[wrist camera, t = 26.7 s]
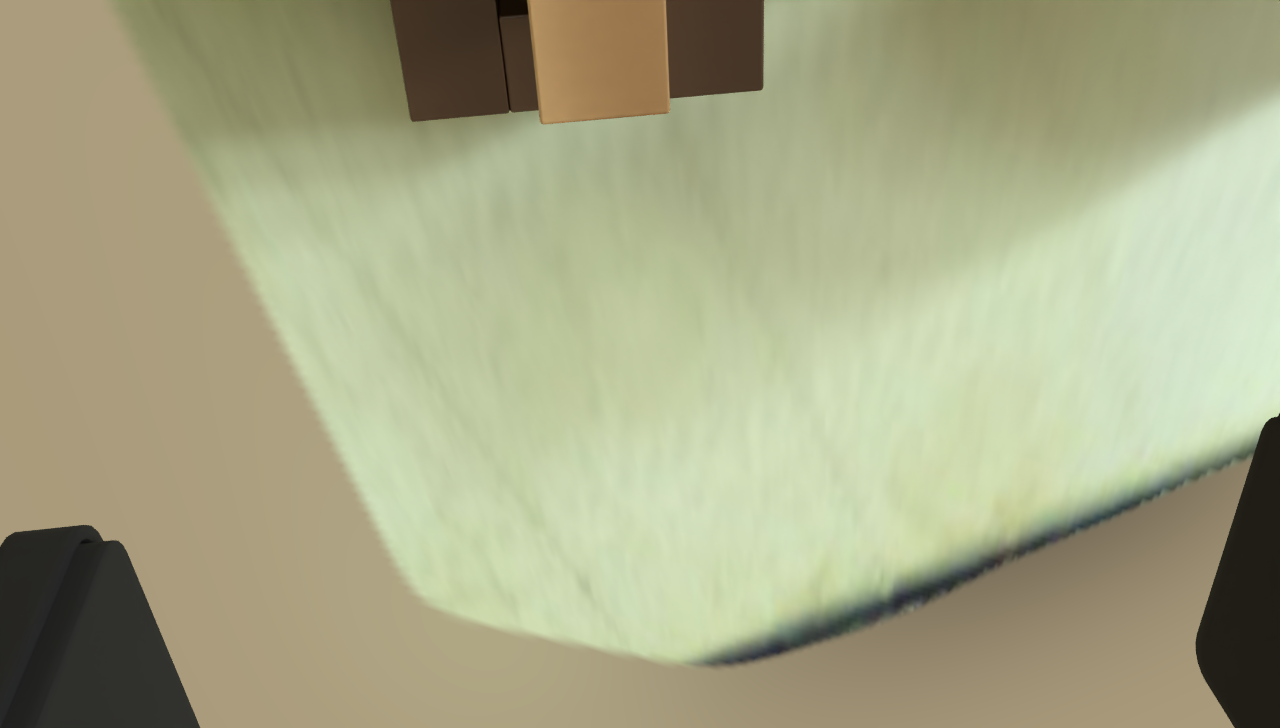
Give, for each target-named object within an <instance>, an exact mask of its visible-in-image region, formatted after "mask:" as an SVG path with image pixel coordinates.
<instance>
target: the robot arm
mask: <svg viewBox="0 0 1280 728" xmlns="http://www.w3.org/2000/svg"><path fill="white" fill-rule="evenodd" d="M1196 655H1197V660H1198V664H1199V667H1200V670H1201V673H1202V674H1203V677H1204V679H1205V680H1206V682H1207V684H1208V686H1209V687H1210V689H1211V690H1212V692H1213V693H1214V695H1215V697H1216V698H1217V700H1218V702H1219V703H1220V705H1221V706H1222V708H1223V709H1224V711H1225V713H1226V714H1227V716H1228V717H1229V719H1230V721H1231V722H1232V724H1233V726H1234V727H1235V728H1280V414H1279V416H1278V417H1274V418H1271V419H1269V420H1268V421H1267V422H1266V423H1265V425H1264V427H1263V429H1262V431H1261V434H1260V437H1259V441H1258V444H1257V447H1256V450H1255V453H1254V456H1253V459H1252V463H1251V466H1250V469H1249V472H1248V475H1247V478H1246V481H1245V485H1244V488H1243V491H1242V494H1241V497H1240V500H1239V503H1238V507H1237V510H1236V513H1235V516H1234V519H1233V523H1232V526H1231V529H1230V532H1229V535H1228V538H1227V541H1226V544H1225V548H1224V551H1223V554H1222V557H1221V560H1220V563H1219V566H1218V570H1217V573H1216V576H1215V579H1214V582H1213V585H1212V588H1211V592H1210V595H1209V598H1208V601H1207V604H1206V607H1205V611H1204V614H1203V617H1202V620H1201V623H1200V626H1199V629H1198V633H1197V637H1196ZM0 728H200V726H199V724H198V721H197V719H196V717H195V714H194V712H193V709H192V707H191V705H190V702H189V700H188V697H187V695H186V693H185V690H184V688H183V686H182V683H181V681H180V678H179V676H178V673H177V671H176V669H175V666H174V664H173V661H172V659H171V657H170V654H169V652H168V650H167V647H166V645H165V642H164V640H163V637H162V635H161V633H160V631H159V628H158V626H157V624H156V621H155V618H154V616H153V613H152V611H151V609H150V607H149V604H148V602H147V599H146V597H145V594H144V592H143V590H142V587H141V585H140V583H139V580H138V577H137V575H136V573H135V570H134V568H133V566H132V563H131V561H130V558H129V556H128V553H127V551H126V550H125V548H124V546H123V545H122V544H121V543H120V542H119V541H103V540H102V538H101V536H100V534H99V533H98V531H97V530H96V529H94V528H93V527H92V526H89V525H80V526H70V527H62V528H51V529H42V530H32V531H23V532H15V533H13V534H11V535H9V536H8V537H6V539H5V540H4V542H3V543H2V545H1V547H0Z"/></svg>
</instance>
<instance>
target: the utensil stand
mask: <svg viewBox="0 0 1280 728" xmlns="http://www.w3.org/2000/svg"><path fill="white" fill-rule="evenodd" d="M390 5H391V11H392V16H393V22H394V28H395V33H396V39H397V45H398V50H399V56H400V62H401V67H402V73H403V79H404V84H405V90H406V96H407V102H408V107H409V113H410V119H411V120H412V121H413V122H415V121H426V120H437V119H449V118H460V117H471V116H482V115H493V114H504V113H509V111H511V112H523V111H535V110H539V107H538V97H537V88H536V79H535V69H534V60H533V51H532V41H531V32H530V22H529V13H528V4H527V0H390ZM666 18H667V43H668V69H669V94H670V98H680V97H692V96H703V95H714V94H725V93H736V92H747V91H759V90H762V89H763V68H764V0H666Z"/></svg>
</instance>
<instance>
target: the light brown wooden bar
mask: <svg viewBox="0 0 1280 728" xmlns="http://www.w3.org/2000/svg"><path fill="white" fill-rule="evenodd" d="M527 4H528V13H529V22H530V32H531V41H532V51H533V60H534V69H535V79H536V88H537V97H538V107H539V116H540V122H541V124H553V123H564V122H575V121H587V120H598V119H610V118H621V117H632V116H644V115H655V114H666V113H669V111H670V94H669V69H668V43H667V18H666V0H527Z"/></svg>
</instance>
